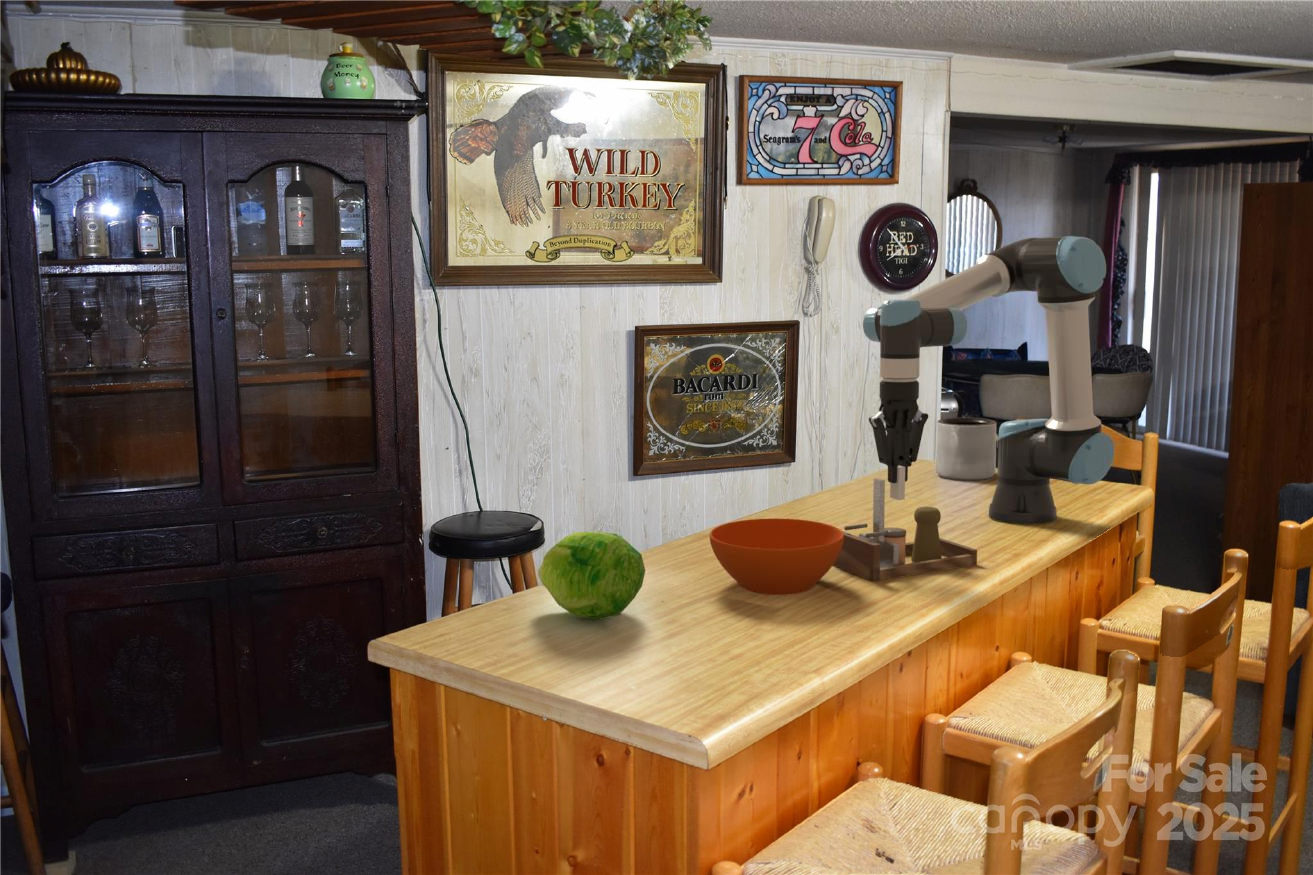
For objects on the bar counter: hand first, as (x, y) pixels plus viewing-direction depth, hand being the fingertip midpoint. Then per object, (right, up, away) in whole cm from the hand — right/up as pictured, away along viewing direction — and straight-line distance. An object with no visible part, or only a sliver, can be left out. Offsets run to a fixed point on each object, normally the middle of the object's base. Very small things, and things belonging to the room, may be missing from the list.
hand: (897, 498), depth 226 cm
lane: (+2, -13, +3) cm, 14 cm away
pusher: (-4, -13, 0) cm, 14 cm away
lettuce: (-59, -19, -26) cm, 67 cm away
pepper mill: (+7, -13, +5) cm, 16 cm away
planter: (+39, +1, +93) cm, 101 cm away
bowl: (-25, -16, -10) cm, 31 cm away
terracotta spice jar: (-1, -14, +2) cm, 14 cm away
